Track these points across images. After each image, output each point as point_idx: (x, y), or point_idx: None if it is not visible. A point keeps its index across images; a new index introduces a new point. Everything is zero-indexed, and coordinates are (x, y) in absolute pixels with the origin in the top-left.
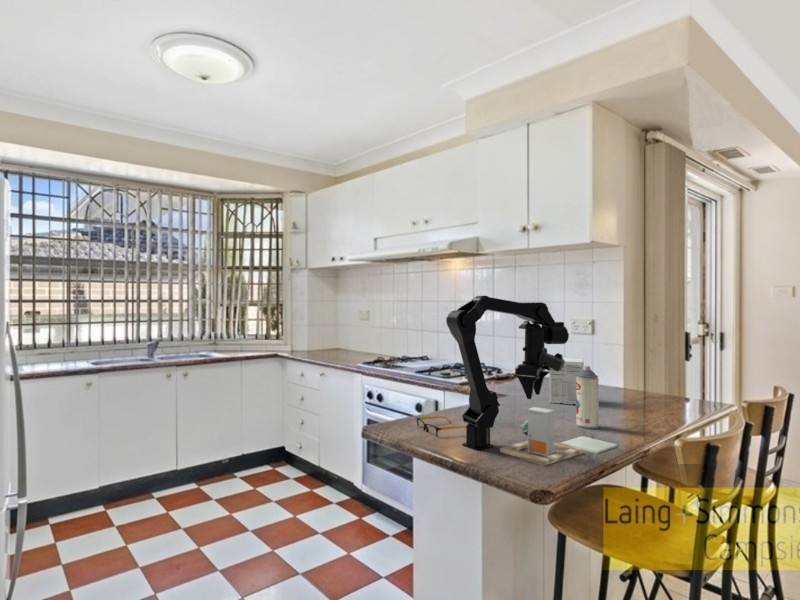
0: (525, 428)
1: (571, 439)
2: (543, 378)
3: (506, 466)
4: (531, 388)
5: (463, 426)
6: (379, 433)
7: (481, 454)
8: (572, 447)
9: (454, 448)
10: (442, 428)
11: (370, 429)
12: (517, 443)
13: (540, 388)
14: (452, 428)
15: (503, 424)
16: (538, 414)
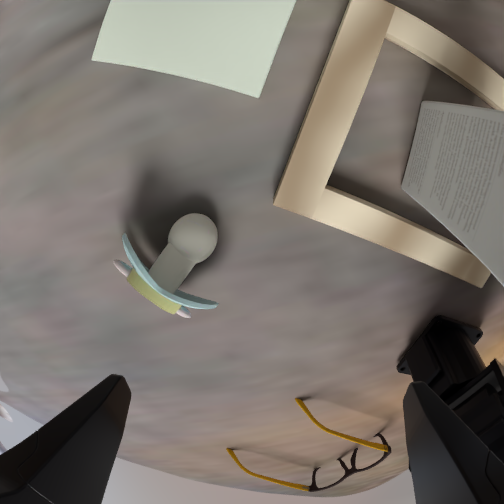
0: (180, 293)
1: (174, 73)
2: (7, 468)
3: None
4: (487, 454)
5: (332, 432)
6: (380, 479)
7: (494, 313)
8: (361, 27)
9: None
10: (382, 447)
11: (359, 491)
12: (415, 258)
13: (92, 411)
14: (359, 439)
15: (130, 363)
16: None
